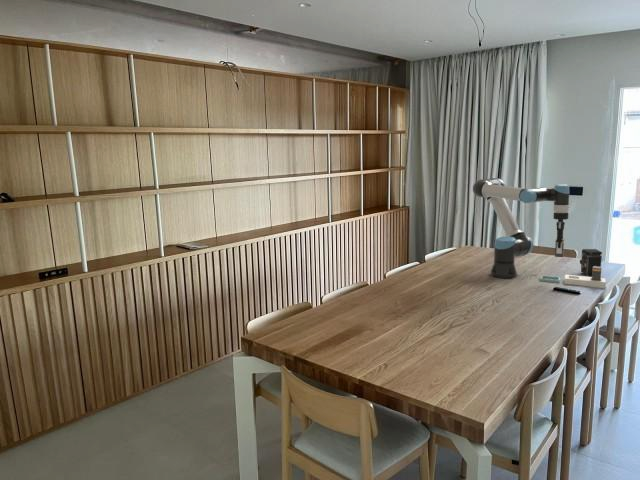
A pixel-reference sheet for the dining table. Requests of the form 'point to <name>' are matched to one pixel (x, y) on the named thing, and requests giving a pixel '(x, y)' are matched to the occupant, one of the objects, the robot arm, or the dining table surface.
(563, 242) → the plug
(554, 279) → the tray
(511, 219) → the robot arm
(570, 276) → the battery charger
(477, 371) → the dining table surface
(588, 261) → the camera
